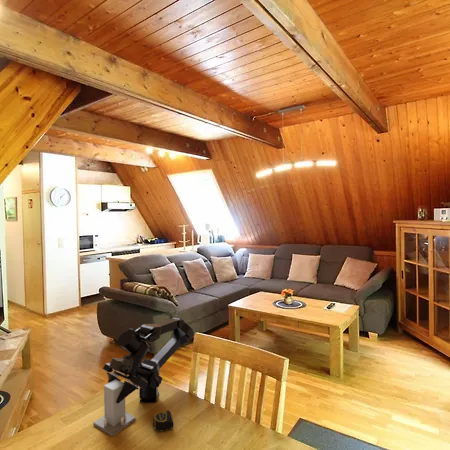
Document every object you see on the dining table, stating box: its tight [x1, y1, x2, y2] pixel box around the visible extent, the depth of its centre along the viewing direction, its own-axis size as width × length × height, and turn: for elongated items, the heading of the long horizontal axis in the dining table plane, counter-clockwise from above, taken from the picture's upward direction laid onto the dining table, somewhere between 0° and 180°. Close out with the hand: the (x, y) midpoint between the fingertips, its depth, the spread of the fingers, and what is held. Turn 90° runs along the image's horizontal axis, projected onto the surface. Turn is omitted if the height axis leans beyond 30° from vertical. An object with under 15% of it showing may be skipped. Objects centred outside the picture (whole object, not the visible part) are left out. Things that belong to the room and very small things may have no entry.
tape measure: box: [152, 410, 175, 432], centre depth 113 cm, size 7×7×4 cm
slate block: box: [103, 379, 126, 426], centre depth 114 cm, size 5×5×13 cm
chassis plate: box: [93, 411, 136, 437], centre depth 114 cm, size 10×10×4 cm
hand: (111, 400), depth 113 cm, fingers open, 6 cm apart
